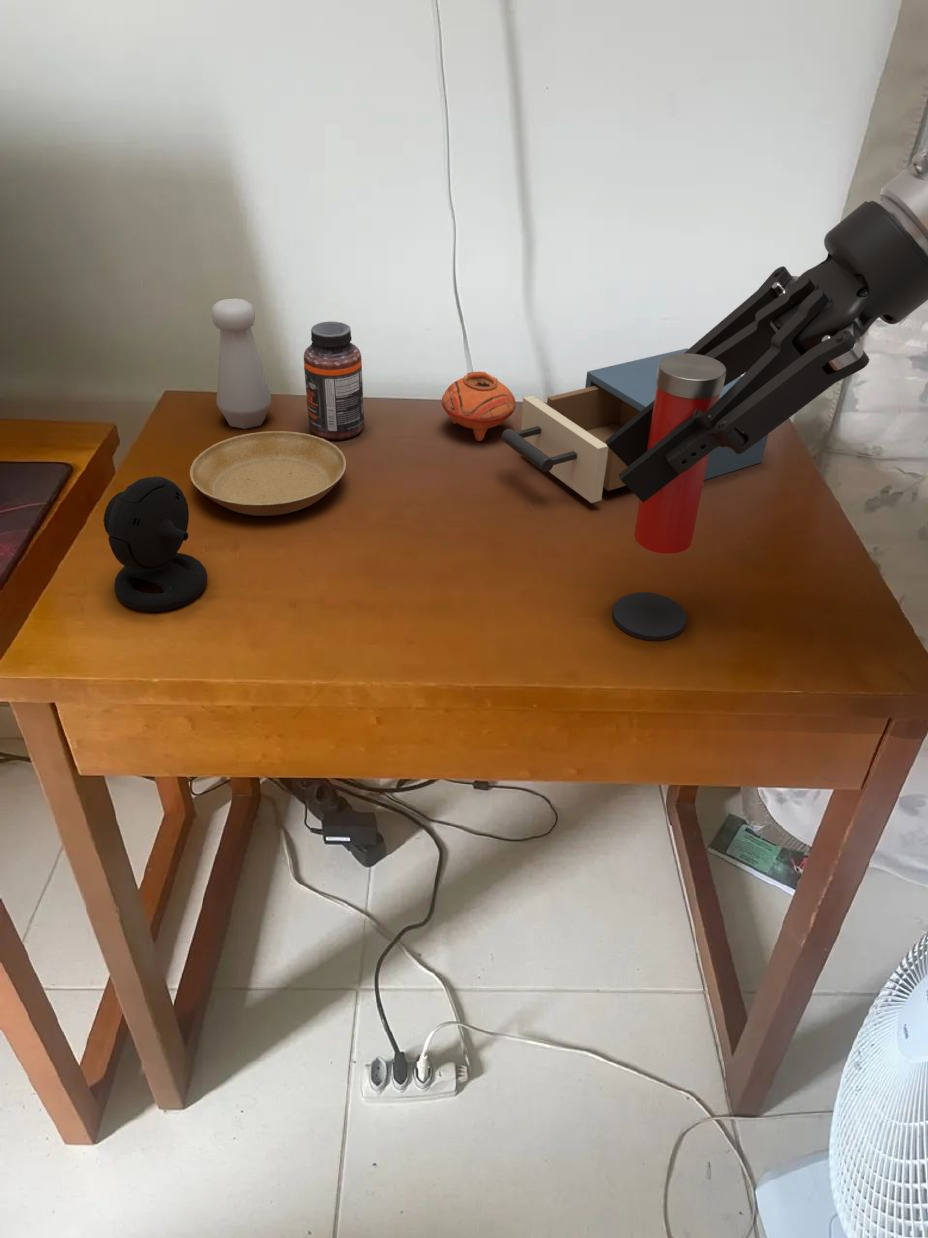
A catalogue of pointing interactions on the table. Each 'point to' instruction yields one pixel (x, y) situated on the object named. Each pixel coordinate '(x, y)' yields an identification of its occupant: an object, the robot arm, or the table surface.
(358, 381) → the supplement bottle
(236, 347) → the salt shaker
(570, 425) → the drawer
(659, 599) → the coaster
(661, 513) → the disc
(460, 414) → the pot
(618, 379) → the cabinet
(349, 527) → the table surface
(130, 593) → the webcam
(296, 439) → the plant saucer
